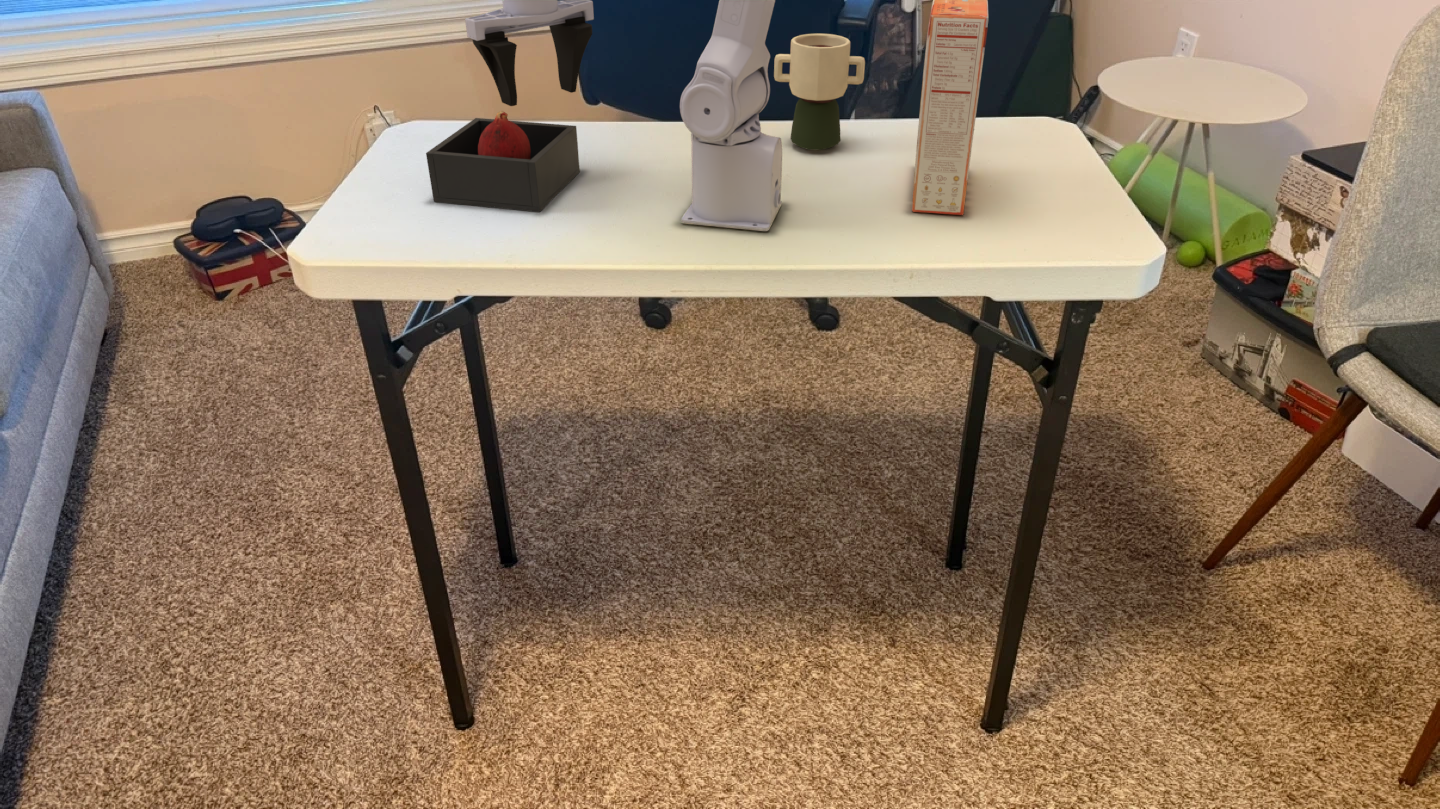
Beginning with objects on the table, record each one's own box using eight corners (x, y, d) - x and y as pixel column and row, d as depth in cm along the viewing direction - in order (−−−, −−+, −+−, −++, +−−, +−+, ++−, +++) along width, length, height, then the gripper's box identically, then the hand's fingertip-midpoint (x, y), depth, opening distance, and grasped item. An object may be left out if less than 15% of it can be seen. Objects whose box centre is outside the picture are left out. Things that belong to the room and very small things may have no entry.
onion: (522, 192, 113) (515, 122, 109) (474, 189, 114) (464, 118, 110) (540, 174, 118) (534, 106, 114) (494, 171, 119) (485, 103, 115)
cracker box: (913, 168, 122) (934, -17, 110) (965, 172, 121) (991, -15, 109) (907, 213, 110) (928, 11, 99) (963, 217, 109) (992, 14, 98)
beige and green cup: (858, 138, 131) (866, 34, 124) (858, 157, 125) (866, 49, 118) (774, 135, 132) (777, 31, 125) (769, 154, 126) (772, 46, 119)
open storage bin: (579, 172, 120) (576, 125, 117) (539, 212, 110) (534, 162, 107) (481, 163, 123) (475, 117, 120) (433, 201, 113) (425, 152, 110)
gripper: (563, -49, 111) (574, 77, 118) (443, -33, 103) (462, 101, 110) (601, -40, 106) (609, 90, 114) (478, -23, 99) (496, 116, 106)
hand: (539, 97), depth 112 cm, fingers open, 7 cm apart
